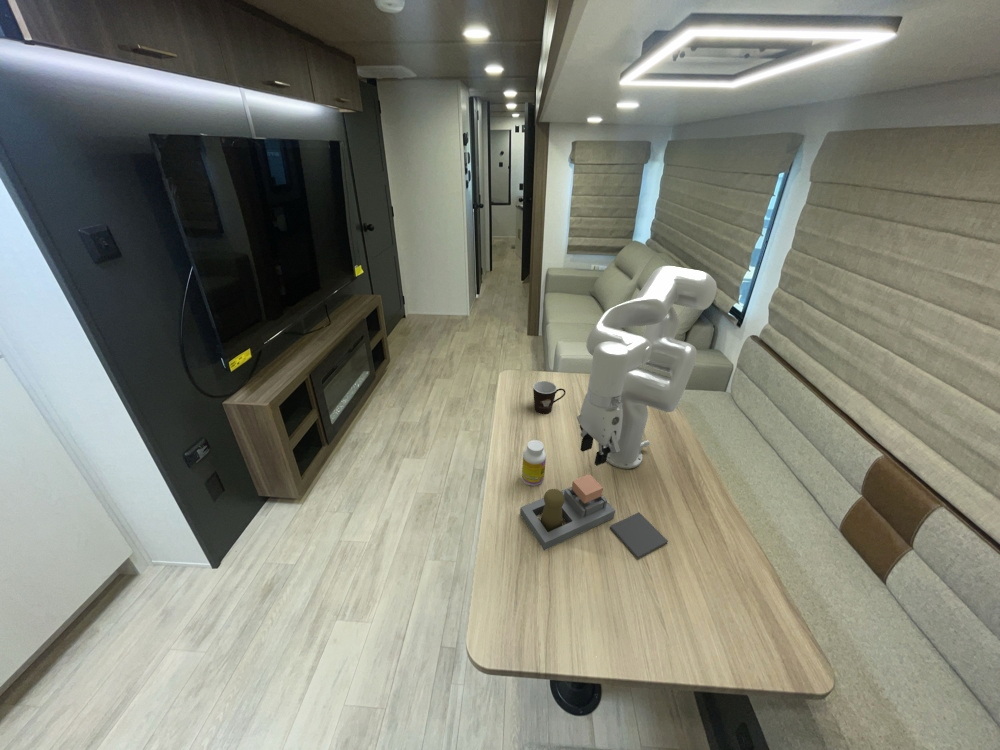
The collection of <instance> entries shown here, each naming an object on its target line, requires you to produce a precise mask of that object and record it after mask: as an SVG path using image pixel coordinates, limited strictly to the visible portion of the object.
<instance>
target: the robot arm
mask: <svg viewBox="0 0 1000 750" xmlns="http://www.w3.org/2000/svg"><path fill="white" fill-rule="evenodd" d="M717 290H718V285H717V282H716V280H715V279H714V278H713V276H711V275H710V274H709V273H708V272H706V271H702V270H698V269H691V268H687V267H680V266H673V265H663V266H660V267H657V268H656V269H654V271H653V272H652V273H651V275H650V276H649V277H648V279H647V280H646V281H645V283H644V285H643V286H642V288H641V289H640V291H639V292H638V294H637V295H636V297H635V298H633V299H631V300H627V301H624V302H622V303H619V304H617V305H615V306H612V307H611V308H608V309H607V310H606V311H605V312H604V313H602V314H601V316H600V317H599V318H598V320H597V321H596V322H595V324H594V325H593V327H592V328H591V329H590V332H589V333H588V337H587V339H586V350H587V352H588V354H589V355H591V356H592V361H591V367H590V375H589V379H588V386H587V392H586V394H585V396H584V398H583V402H582V405H581V409H580V412H579V413H580V414H578V415H577V416H576V419H577V420H576V421H578V424H579V428H580V431H581V432H580V436H581V443H580V451H581V452H583V453H584V452H586V451H589V450H591V449H592V448H593V444H594V440H595V441H596V442H597V443H598V444H597V445H598V451H596V452H595V453H596V454H595V458H594V465H595V466H596V467H597V466H600V465H603V464H605V463H606V462H608V464H610V465H612V466H613V467H616V468H620V469H624V470H626V469H627V470H628V469H635V468H637V467H639V466H641V463H642V461H643V453H642V452H641V451H642V450H643V449H644V448H646V447H648V446H650V444H651V443H650V441H649V440H648V439H644V440H643V437H644V433H645V429H646V425H647V421H648V418H649V411H648V410H649V409H648V407H651V408H653V409H656V410H658V411H661V412H664V413H672V412H674V411H676V409H677V408H678V406H679V405H680V402H681V399H682V398H683V395H684V393H685V390H686V387H687V385H688V383H689V380H690V377H691V375H692V373H693V370H694V367H695V364H696V362H697V361H696V360H697V354H698V352H697V348H696V347H695V346H694V345H693V344H691V343H689V342H687V341H683V340H680V339H679V340H678V339H675V338H676V335H677V332H678V331H679V328H680V318H679V317H678V314H677V312H676V310H675V308H674V307H673V305H675V306H676V305H677V306H682V307H686V308H690V309H696V310H700V311H704V310H706V309H708V308H709V307H710V306H711V305H712V303H714V300H715V298H716V295H717ZM644 326H645V328H644V330H643V333H642V335H638V334H635V333H631V332H628V331H624V330H621V329H622V328H623V329H624V328H631V327H644ZM642 366H646V367H647V368H652V369H654V370H658V371H662V372H665V373H668V374H669V375H670V376H667V375H664V374H660V373H656V372H655V371H651V370H649V369H645V368H641V367H642ZM647 406H648V407H647Z"/></svg>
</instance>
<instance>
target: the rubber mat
mask: <svg viewBox="0 0 1000 750" xmlns="http://www.w3.org/2000/svg"><path fill="white" fill-rule="evenodd" d="M609 529H610V530H611V531H612V532H613V533H614V534H615V535H616V537H617V538H618V539H619V540H620V541H621V542H622V544H624V545H625V547H626V548H627V549H628V550H629V551H630V552H631V554H632V555H633V556H634V557H635V558H636V559H637V560H639V559H640V558H642V557H644V556H646V555H648V554H650V553H652V552H653V551H656V550H657V549H659V548H660V547H664V545H666V544H668V541H669V540H668V539H667V538H666V537H665V536H664V535H663V534H662V533H660V531H659V530H657V528H656V527H655V526H653V524H652V523H651V522H650V521H649V520H647V518H646V517H644V515H643V514H642V513H640V512H636V513H635V514H632V515H630V516H627V517H625V518H624V519H622V520H619V521H618V522H616V523H614V524H611V525H610V526H609Z"/></svg>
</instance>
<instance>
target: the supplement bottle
mask: <svg viewBox="0 0 1000 750" xmlns="http://www.w3.org/2000/svg"><path fill="white" fill-rule="evenodd" d="M522 453H523V454H522V465H521V466H522V467H521V478H522V479H521V480H522V482H524V483H525V484H526V485H529V486H533V487H534V486H539V485H541V484H542V483H543V482H544V480H545V471H546V461H547V453H546V451H545V449H544V443H543V442H542V441H540V440H537V439H531V440H530V441H528V442H527V445H526V448H525V449H524V450H523V452H522Z"/></svg>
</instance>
